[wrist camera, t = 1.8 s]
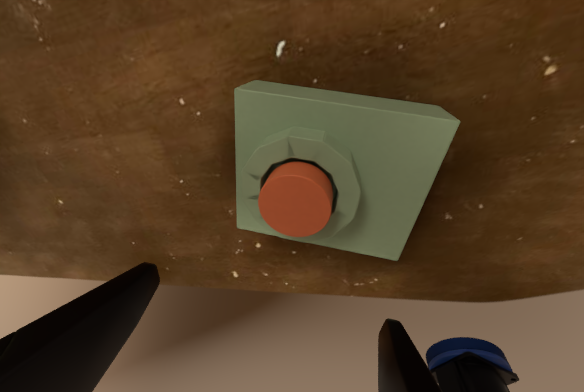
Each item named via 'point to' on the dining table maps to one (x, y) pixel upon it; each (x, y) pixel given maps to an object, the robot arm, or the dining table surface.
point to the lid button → (296, 199)
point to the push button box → (342, 159)
